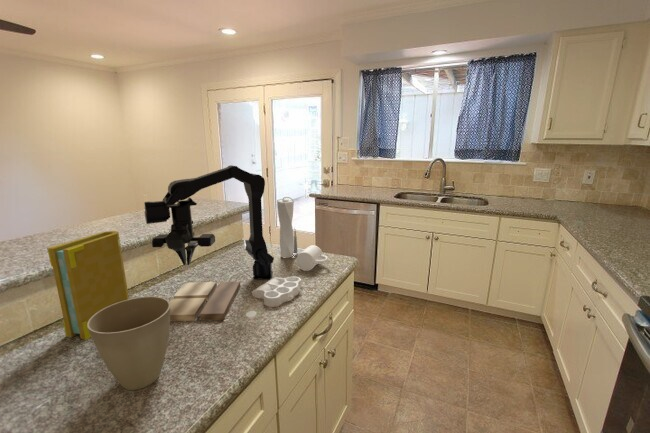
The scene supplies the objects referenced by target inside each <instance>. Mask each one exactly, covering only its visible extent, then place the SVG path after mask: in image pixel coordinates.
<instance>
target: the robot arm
mask: <svg viewBox="0 0 650 433" xmlns="http://www.w3.org/2000/svg"><path fill="white" fill-rule="evenodd" d="M231 179H235V180H236V181H239V182H241V183H243V187H244V190H245V193H246V196H247V199H248V214H249V215H248V216H249V233H250V234H249V239H245V241H244V242H245V248H244V249H245V251H246V252H247V255H249V256H250V257H251V258H252V259H253V260H254V261H253V265H252V274H253V280H268V279H269V280H270V279H272V276H273V272H274V271H273V270H272V269H273V267H272V264H273V263H274V259H275V257H274V256H272V255H271V254H270V253H269V251H268V247H267V243H266V241H265V238H264V235H263V234H264V232H263V212H262V211H263V209H262V197H263V195H264V193H265V186H266V180H265V178H264V177H263V176H262V175H260V174H256V173H251V172H248V171H247V170H243V169H241V168H240V167H239V166H237V165H233V164H231V165H227V167H223V168H220V169H217V170H215V171H212V172H209V173H206V174H203V175H200V176H197V177H192V178H185V179H184V178H183V179H178V180H173V181H171V182H170V183H169V184H168V186H167V193H166V194H165V196H163V198H162V200H160V201H159V200H158V201H144V210H143V212H144V219H145V223H146V225H150V224H158V223H167V222H168V220H170V219H172V220H171V222H172V224H170V225H171V226H170V228H171V229H170V232H169V233H168V234H159V235H157V236H155V237H153V238H152V239H151V246H152V248H162V247H163V246H164V245H165V244H166V245H167V248H168V249H169V250H173V251H174V252H175V253H176V254H177V256H178V257H179V259H180V261H181V262H182V265H183V266H186V265H187V266H190V265H191V261H192V258H193V255H194V252H195V250H196V248H197V247H198V246H199V247H200V248H201V247H204V248H205V247H212V245H213V244H214V243H215V242H216V235H214V234H213V233H202V234H200V236H195V232H194V230H193V224H194V220H192V219H193V218H192V210H191V208H192V207H193V206H197V202H196V201H194V200H193V199H192V196H194V195H195V194H197V192H199V191H201V190H203V189H206V188H208V187H211V186H215V185H218V184H219V183H223V182H226V181H228V180H231ZM191 206H192V207H191ZM186 244H187V245H186Z"/></svg>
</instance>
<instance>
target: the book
mask: <svg viewBox="0 0 650 433" xmlns="http://www.w3.org/2000/svg"><path fill="white" fill-rule="evenodd" d="M46 249H47V253H48V257H49V262H50V266H51V267H52V269H53V271H52V272H53V275H54V280H55V284H56V289H57V290H56V291H57V293H58V298H59V304H60V308H61V314H62V318H63V320H62V323H63V328H64V333H65V337H67V338H73V337H75V336H76V335H79V336H80V339H81V340H85V341H86V340H89V339H90V338H92V337H91V335H90V332H89V330H88V327H87V323H88V321H89V319H90V318H91V317H92V316H93V315H94V314H96V313H97V312H99V311H100V310H102V309H104V308H106V307H108V306H110V305H113V304H115V303H118V302H121V301H124V300H128V299H130V297H129V290H128V284H127V277H126V272H125V265H124V258H123V253H122V246H121V239H120V234H119V231H117V230H108V231H107V230H106V231H102V232H98V233H94V234H91V235H87V236H85V237H84V236H83V237H82V238H78V239H74V240H71V241H68V242H64V243H60V244H56V245H54V246H53V245H52V246H50V247H47V248H46Z"/></svg>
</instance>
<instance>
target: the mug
mask: <svg viewBox="0 0 650 433" xmlns="http://www.w3.org/2000/svg"><path fill="white" fill-rule="evenodd" d="M295 260H296V262H295V263H296V265H297V267H298V268H299V269H300V270H301V271H303V272H309V271H311V270H312V269H314V268H315V267H316V266H317V265H319V264H320V265H322V264H326V263H328V262H329V258H328V256H327V255H325V254H324V253H323V250H322V249H321V248H320V247H319V246H317V245H315V244H314V245H312V244H311V245H309V246H307V247H306V248H305V249H303V250H302V251H301V252H300V253H298V254H297V257H296V258H295Z"/></svg>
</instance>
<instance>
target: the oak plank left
mask: <svg viewBox="0 0 650 433" xmlns="http://www.w3.org/2000/svg"><path fill="white" fill-rule="evenodd" d="M168 301H169V302H170V305H171V306H170V322H184V321H191V322H192V321H196V320H197V319H198V315H199V313H200V312H201V310H202V309H203V307H204V306H205V304H206V303H207V301H206V298H184V299H174V298H170V299H169V300H168Z"/></svg>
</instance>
